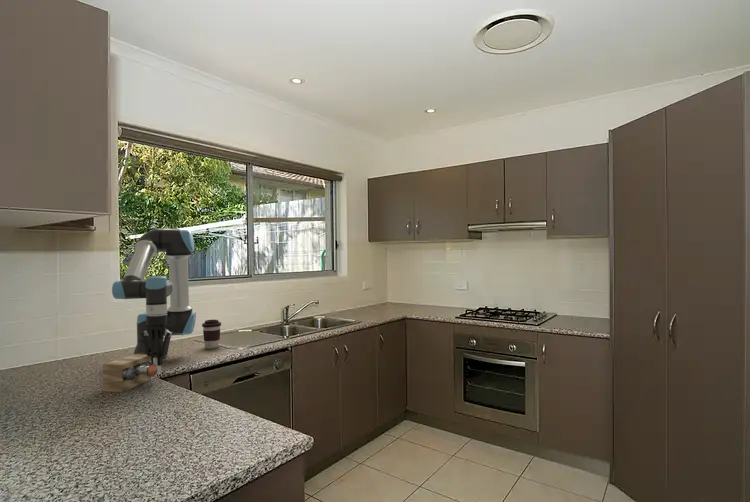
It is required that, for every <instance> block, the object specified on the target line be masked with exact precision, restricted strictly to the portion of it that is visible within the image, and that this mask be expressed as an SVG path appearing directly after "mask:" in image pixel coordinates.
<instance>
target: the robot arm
mask: <svg viewBox="0 0 750 502" xmlns="http://www.w3.org/2000/svg"><path fill="white" fill-rule="evenodd" d="M194 240H195V239H194V236H193V233H192V230H190V229H188V228H154V229H151V230H149V231H147V232H145V233H144V234H142V235H141V236H140V237H139V238H138V239H137V241H136V242H135V245H134V250H135V251H134V253H133V255H132V256H131V259H130V262H129V264H128V267H127V269H126V271H125V274H124V275H123V279H122V280H118V281H117V280H116V281H114V282H113V283H112V286H111V294H112V297H113V298H114V299H115V300H135V299H136V300H137V299H138V300H139V299H145V312H142V313H139V314H138V315H137V318H136V346H135V348H134V352H133V354H132V355H135V354H137V353H145V354H147V356H150V357H151V361H152V364H155V365H156V366H157V373H156V375H159V374H161V373H162V365H163V359H165V358H167V357H168V351H169V347H170V344H171V343H170V342H171V338H172V337H173V336H186V335H191V334H192V333H193V331H194V329H195V325H196V318H197V315H196V314H197V312H196V311H194V310H193V307H192V306H191V305H190V296H189V295H190V293H189V292H190V291H189V289H190V287H189V258H190V257H191V256H192V253H193V252H194V251H195V241H194ZM157 253H165V257H166V258H168V259H169V260H168V263H169V265H168V267H169V280H168V279H167V277H166V276H161V275H160V276H159V275H157V276H148V277H146V274H147V271H148V269H149V267H150V264H151V261H152V259H153V257H154V256H155V255H156V254H157ZM145 277H146V279H145ZM168 297H169V303H170V305H169V307H168V301H167V300H168ZM156 375H155V376H156Z"/></svg>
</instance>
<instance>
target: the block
mask: <svg viewBox="0 0 750 502" xmlns="http://www.w3.org/2000/svg"><path fill="white" fill-rule="evenodd" d="M148 361H151V357H150V356H147V355H133V354H130V355H128V356H124V357H121V358H119V359H116V360H112V361H110V362H106V363H103V364H102V369H103V377H102V392H112V393H113V392H114V393H116V392H117V393H122V392H126V391H127V390H130V389H132V388H135V387H137V386H138V385H142V384H144V383H146V382H148V381H151V380H152V377H149V376H148V375H147V374H136V376H135V378H134V379H133V380H127V379H126V378H123V370H124V369H125V370H127V369H128V368H133V366H143V363H147V362H148Z"/></svg>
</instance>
